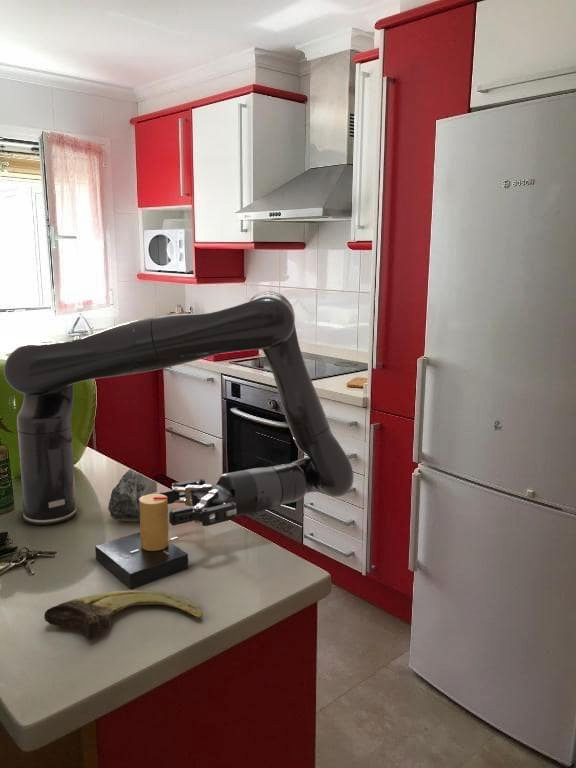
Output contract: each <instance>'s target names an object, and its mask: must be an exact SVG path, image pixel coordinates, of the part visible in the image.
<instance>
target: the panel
mask: <svg viewBox="0 0 576 768" xmlns="http://www.w3.org/2000/svg"><path fill="white" fill-rule="evenodd" d="M178 539H179V537H178V536H175V537H172V538H170V539H169V544H168V546H167V547H166V548H164V549H162V550H158V551H147V550H144V549H143V548H142V547H141V531H139V532H136V533H133V534H129V535H126V536H122V537H119V538H117V539H114V540H110V541H106V542H103V543H99V544H96V545H95V546H94V547H95V548H94V549H95V551H94V552H95V561H97V562H98V563H99V564H100V565H102V566H103V567H104V568H105V569H106V570H107V571H109V572H110V573H111V574H112V575H113V576H114V577H115V578H117V580H119V581H120V582H122V584H124V585H125V586H126V587H127V588H128V589H130V590H134V589H136V588H138V587H141V586H144V585H146V584H150V583H153V582H155V581H158V580H160V579H163V578H166V577H168V576H171V575H174V574H177V573H179V572H182V571H185V570H188V569H189V553H187V552H185V551H184V550H182V549H181V548H180V547H178V546H177V545H175V544H173V543H172V542H171V541H174V540H178Z"/></svg>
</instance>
